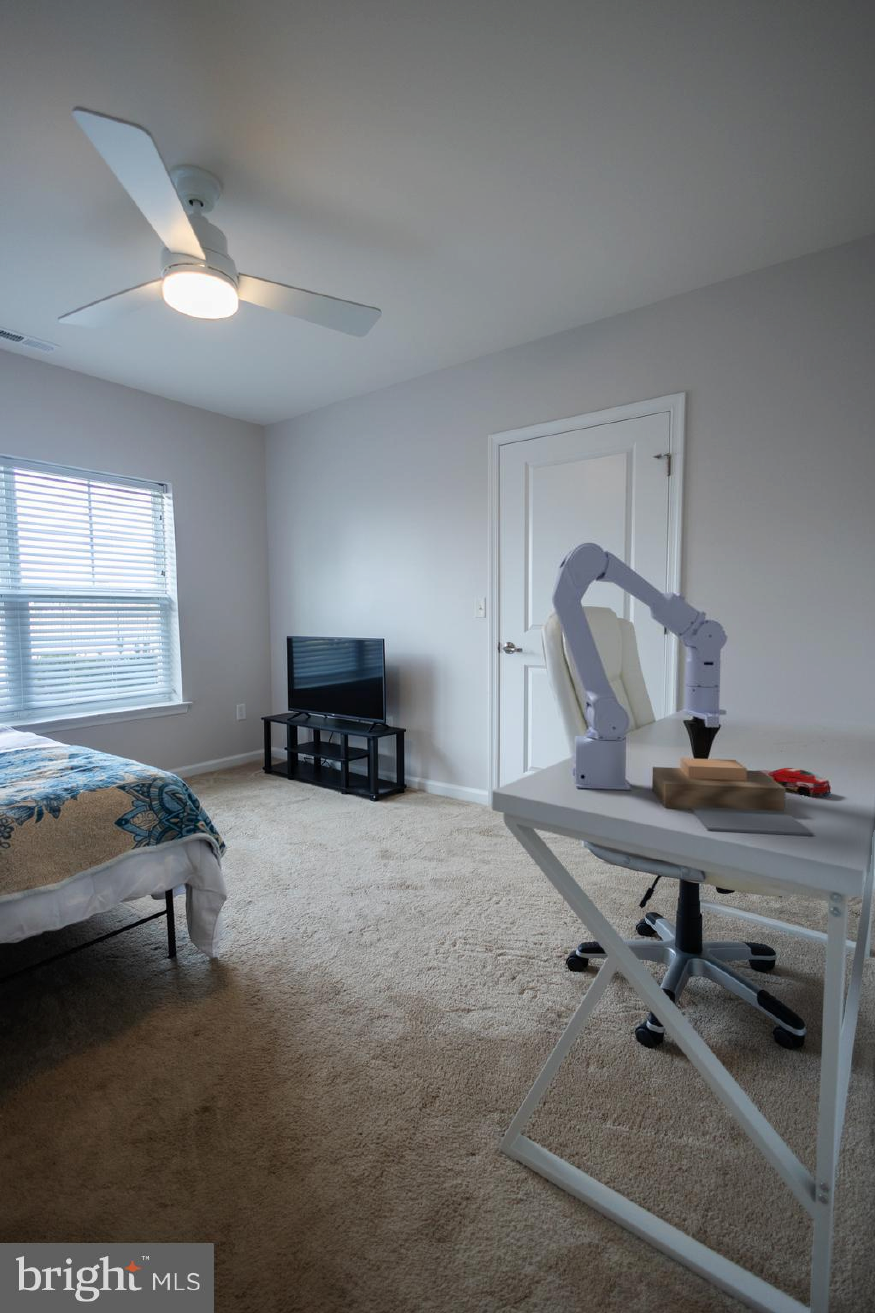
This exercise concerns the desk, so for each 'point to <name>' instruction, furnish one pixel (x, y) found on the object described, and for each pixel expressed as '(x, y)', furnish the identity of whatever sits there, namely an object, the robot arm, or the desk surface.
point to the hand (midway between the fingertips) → (700, 759)
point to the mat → (750, 821)
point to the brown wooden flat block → (717, 791)
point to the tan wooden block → (713, 769)
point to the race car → (800, 781)
